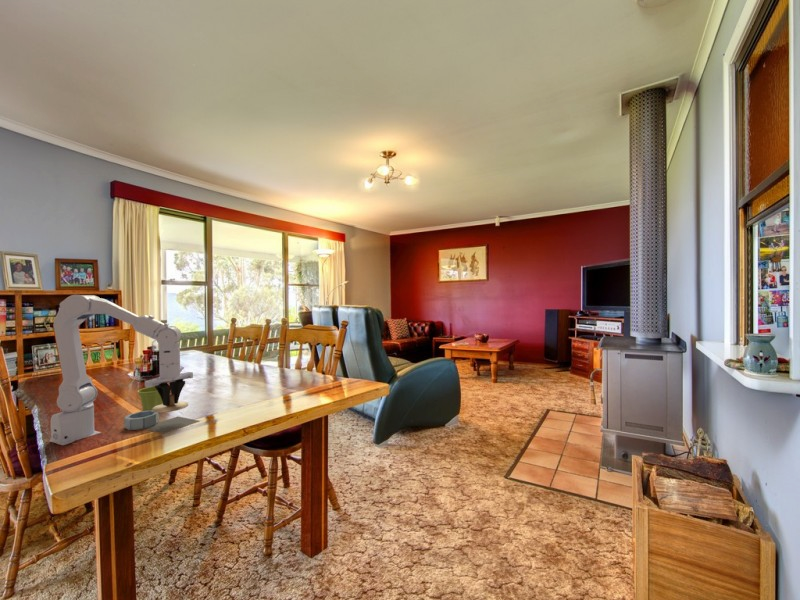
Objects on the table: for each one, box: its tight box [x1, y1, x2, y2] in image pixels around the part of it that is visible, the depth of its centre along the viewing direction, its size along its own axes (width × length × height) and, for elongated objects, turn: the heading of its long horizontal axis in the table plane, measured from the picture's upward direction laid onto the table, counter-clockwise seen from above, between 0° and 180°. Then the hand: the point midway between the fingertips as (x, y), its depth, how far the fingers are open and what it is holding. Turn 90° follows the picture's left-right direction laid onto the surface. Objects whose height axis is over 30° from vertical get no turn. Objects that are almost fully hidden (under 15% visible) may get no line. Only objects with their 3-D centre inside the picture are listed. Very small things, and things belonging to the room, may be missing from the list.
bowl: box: [123, 410, 160, 431], centre depth 116 cm, size 9×9×4 cm
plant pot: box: [137, 386, 163, 411], centre depth 131 cm, size 9×9×9 cm
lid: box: [152, 393, 189, 413], centre depth 116 cm, size 10×10×4 cm
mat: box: [141, 416, 200, 435], centre depth 116 cm, size 12×12×1 cm
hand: (170, 404), depth 116 cm, fingers closed on lid, 2 cm apart
